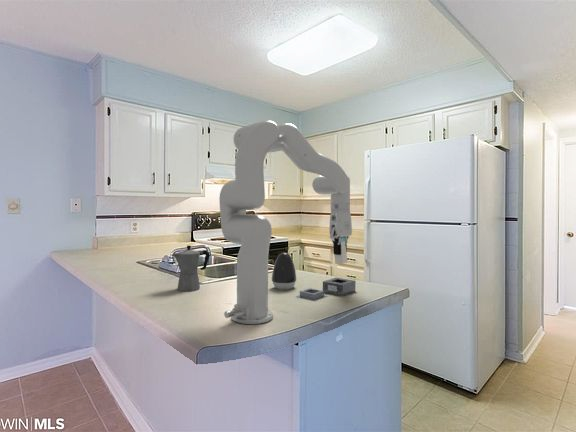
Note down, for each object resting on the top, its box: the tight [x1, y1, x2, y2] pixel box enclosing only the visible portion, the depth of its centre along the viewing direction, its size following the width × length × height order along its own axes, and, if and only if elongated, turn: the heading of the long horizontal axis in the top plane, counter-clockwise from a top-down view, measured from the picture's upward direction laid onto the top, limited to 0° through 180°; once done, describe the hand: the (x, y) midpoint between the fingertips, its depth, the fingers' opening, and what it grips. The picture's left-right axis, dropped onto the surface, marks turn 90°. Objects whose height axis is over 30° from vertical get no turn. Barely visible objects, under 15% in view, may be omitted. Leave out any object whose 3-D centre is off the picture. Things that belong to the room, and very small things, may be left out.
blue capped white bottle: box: [332, 237, 348, 265], centre depth 132 cm, size 4×4×10 cm
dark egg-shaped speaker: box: [271, 252, 297, 291], centre depth 139 cm, size 10×10×15 cm
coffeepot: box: [172, 244, 211, 293], centre depth 138 cm, size 15×9×18 cm, turn 121°
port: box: [322, 277, 356, 297], centre depth 132 cm, size 10×9×5 cm
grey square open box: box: [295, 287, 329, 302], centre depth 125 cm, size 9×9×3 cm
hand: (340, 253), depth 132 cm, fingers closed on blue capped white bottle, 3 cm apart
